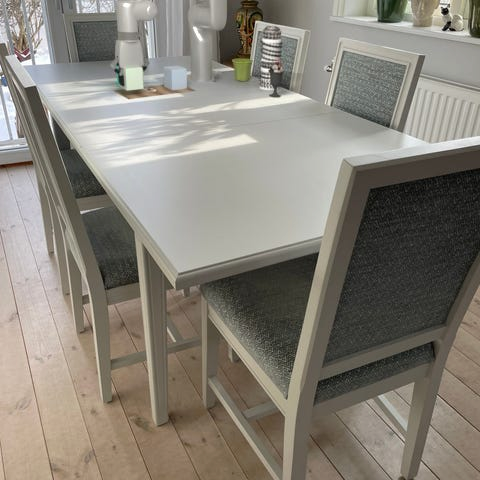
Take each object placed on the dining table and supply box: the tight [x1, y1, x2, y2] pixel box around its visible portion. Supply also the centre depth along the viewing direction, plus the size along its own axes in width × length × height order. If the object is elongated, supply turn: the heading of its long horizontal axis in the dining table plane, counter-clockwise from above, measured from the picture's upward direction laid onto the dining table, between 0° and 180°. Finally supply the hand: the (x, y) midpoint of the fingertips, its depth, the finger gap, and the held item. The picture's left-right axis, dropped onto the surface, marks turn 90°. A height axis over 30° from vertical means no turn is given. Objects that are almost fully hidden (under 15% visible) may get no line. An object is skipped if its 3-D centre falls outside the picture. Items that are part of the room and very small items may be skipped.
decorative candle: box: [258, 25, 283, 91], centre depth 218 cm, size 9×9×25 cm
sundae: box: [268, 57, 285, 98], centre depth 209 cm, size 7×7×15 cm
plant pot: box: [231, 58, 254, 82], centre depth 234 cm, size 9×9×9 cm
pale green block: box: [118, 67, 144, 91], centre depth 200 cm, size 7×7×8 cm
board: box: [113, 84, 197, 100], centre depth 210 cm, size 30×15×2 cm, turn 124°
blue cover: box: [163, 65, 188, 90], centre depth 213 cm, size 7×7×8 cm
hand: (131, 84), depth 201 cm, fingers closed on pale green block, 7 cm apart
